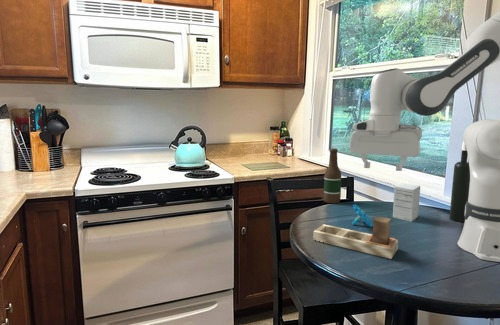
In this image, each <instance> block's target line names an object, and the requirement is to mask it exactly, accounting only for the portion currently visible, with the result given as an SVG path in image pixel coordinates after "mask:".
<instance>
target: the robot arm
mask: <svg viewBox="0 0 500 325" xmlns="http://www.w3.org/2000/svg"><path fill="white" fill-rule="evenodd" d="M499 61H500V11H498V12H497V13H495V14H494V15H493V16H490V17H489V18H488V19H487V20H485V21H484V22H483V23H481V25H479V26H478V27H477V28H476V29H475V30H473V31H472V33H471V34H470V35H469V36H468V37H467V38H466V40H465V44H464V52H463V53H462V54H461V55H460V56H459V57H458V58H456V59H455V60H454V61H453V62H452V63H450V64H449V65H448V66H447V67H445V68H443V70H441V71H440V72H438V73H436V74H434V75H431V76H427V77H423V78H420V79H419V78H418V77H414V76H412V75H409V74H408V73H405V72H404V71H402V70H401V69H400V68H390V69H389V68H388V69H385V70H381V71H378V72H377V73H375V74H374V75H373V76H372V79H371V83H370V92H369V102H370V111H369V117H368V119H364V120H362V121H359V122H356V123H354V124H353V126H352V128H353V130H354V131H353V132H352V133H351V135H350V139H349V151H350V153H351V154H360V158H361V160H362V162H363V168H364V169H370V168H371V161H368V159H367V156H368V155H379V156H394V157H400V158H399V159H400V160H401V162H400V163H397V164H396V165H395V171H398V172H402V171H403V165H404V164H405V162H406V160H407V157H408V158H409V157H410V158H416V157H418V156H419V155H420V154H421V139H422V137H423V130H422V128H421V127H420V126H418V125H417V124H401V115H402V111H406V112H409V113H414V114H416V115H419V116H422V117H423V116H424V117H425V116H426V117H427V116H428V117H429V116H432V115H433V116H434V115H435V114H438V113H440V112H441V111H442V110H444V108H446V106H447V105H448V104H449V101H450V100H451V98H452V97H453V95H454V94H455V93H456V92H457V91H458V90H460V88H462V87H463V86H464V85H465V84H467V83H468V82H469V81H470V80H472V79H473V78H474V77H476V76H477V75H479V74H480V73H481V72H482V71H483V70H485V69H486V68H488V67H489V66H491V65H493V64H495V63H497V62H499ZM462 138H463V139H462V141H464V143H465V145H466V147H467V152H468V157H467V161H468V162H469V168H470V186H469V197H468V200H467V202H466V205H465V215H464V216H465V222H463V227H462V231H461V234H460V236H459V239H458V240H457V245H458V247H459V248H460V249H462V250H463V251H465V252H468V253H471V254H472V255H474V256H475V257H477V258H478V259H480V260H484V261H488V262H497V263H500V117H499V118H498V119H489V118H488V119H481V120H477V121H474V122H472V123H471V124H469V125H468V126H467V127H466V128H465V130H464V131H463V136H462Z"/></svg>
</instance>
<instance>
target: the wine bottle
mask: <svg viewBox="0 0 500 325" xmlns="http://www.w3.org/2000/svg"><path fill="white" fill-rule="evenodd" d="M451 185H452V186H451V195H450V196H451V197H450V207H449V208H450V209H449V221H453V222H456V223H457V222H458V223H465V216H464V215H465V205H466V202H467V200H468V197H469V186H470V168H469V161H468V152H467V147H466V145H465V143H464V140H462V143H461V154H460V161H458V162H456V163H455V164H454V166H453V177H452V184H451Z"/></svg>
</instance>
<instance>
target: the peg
mask: <svg viewBox="0 0 500 325" xmlns="http://www.w3.org/2000/svg"><path fill="white" fill-rule="evenodd" d="M391 221H392V218H389V217H381V216H375V218H374V219H373V221H372V224H373V227H372V234H373V238H372V242H374V243H379V244H383V245H388V244H389V240H390V238H391Z"/></svg>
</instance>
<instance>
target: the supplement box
mask: <svg viewBox="0 0 500 325" xmlns="http://www.w3.org/2000/svg"><path fill="white" fill-rule="evenodd" d="M420 197H421V185H417V184H411V183H403V182H401V183H398V184H396V185H394V193H393V206H392V218H393V219H394V218H395V219H398V220H402V221H408V222H413V221H415V220H416V219H418V218H419V210H420Z"/></svg>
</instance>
